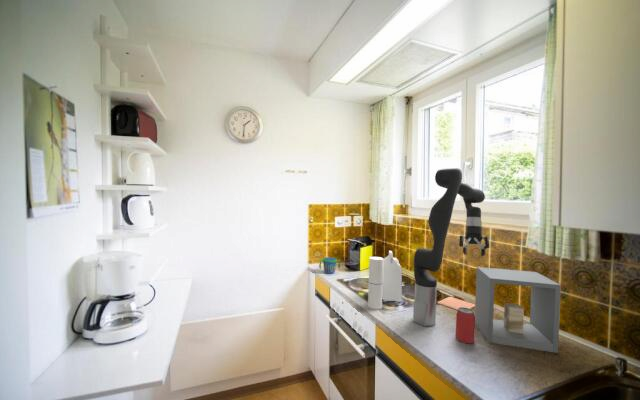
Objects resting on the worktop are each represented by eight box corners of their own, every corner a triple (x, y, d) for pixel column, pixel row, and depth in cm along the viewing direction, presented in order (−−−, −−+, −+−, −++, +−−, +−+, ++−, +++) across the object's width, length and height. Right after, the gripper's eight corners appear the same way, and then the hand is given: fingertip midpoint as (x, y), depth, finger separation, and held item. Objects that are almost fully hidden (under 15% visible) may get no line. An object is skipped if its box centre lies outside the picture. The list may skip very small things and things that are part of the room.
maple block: (522, 333, 106) (523, 309, 106) (508, 331, 108) (509, 307, 107) (517, 327, 111) (518, 304, 111) (503, 325, 112) (504, 302, 112)
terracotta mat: (464, 312, 131) (464, 311, 131) (437, 303, 142) (437, 302, 142) (476, 306, 140) (476, 304, 140) (449, 297, 151) (449, 296, 151)
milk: (378, 292, 155) (379, 249, 154) (398, 294, 153) (399, 250, 153) (379, 301, 143) (381, 253, 143) (401, 302, 142) (403, 254, 141)
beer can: (472, 337, 108) (473, 308, 108) (475, 345, 102) (477, 315, 102) (454, 334, 110) (455, 305, 110) (456, 342, 104) (458, 312, 104)
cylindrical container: (365, 306, 136) (366, 258, 135) (372, 302, 141) (374, 255, 141) (377, 310, 131) (379, 260, 130) (384, 306, 136) (386, 258, 136)
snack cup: (337, 270, 200) (338, 256, 199) (341, 274, 189) (342, 260, 189) (317, 271, 196) (318, 257, 196) (320, 275, 186) (321, 261, 186)
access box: (557, 352, 99) (560, 285, 98) (487, 342, 105) (490, 278, 104) (533, 330, 115) (536, 272, 115) (474, 321, 122) (476, 266, 121)
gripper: (457, 224, 149) (457, 254, 146) (486, 225, 139) (486, 256, 136) (462, 226, 154) (462, 254, 151) (490, 226, 144) (490, 257, 141)
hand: (473, 255), depth 144 cm, fingers open, 8 cm apart
